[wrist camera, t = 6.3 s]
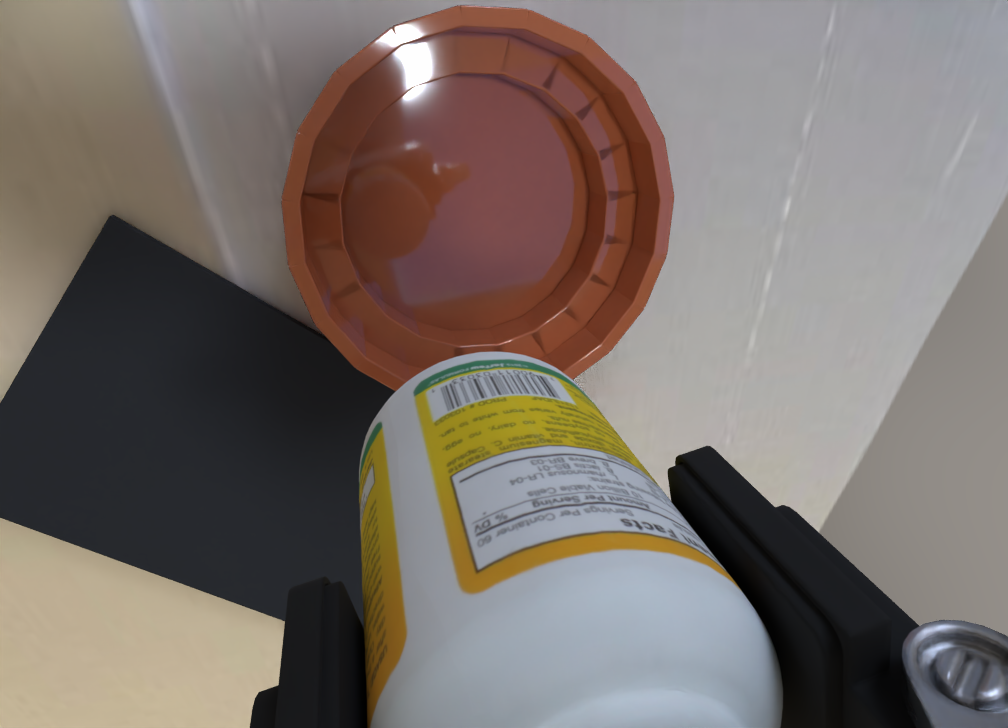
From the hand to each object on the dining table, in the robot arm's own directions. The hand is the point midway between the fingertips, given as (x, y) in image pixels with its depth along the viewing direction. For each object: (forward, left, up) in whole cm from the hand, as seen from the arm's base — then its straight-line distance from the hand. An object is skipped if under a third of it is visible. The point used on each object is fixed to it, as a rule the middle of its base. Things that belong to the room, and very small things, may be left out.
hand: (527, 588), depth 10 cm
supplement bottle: (0, 0, -4) cm, 4 cm away
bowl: (0, +4, -19) cm, 20 cm away
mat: (-1, -11, -19) cm, 22 cm away
